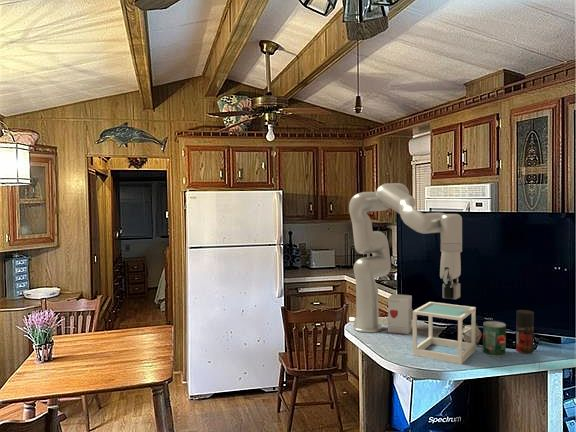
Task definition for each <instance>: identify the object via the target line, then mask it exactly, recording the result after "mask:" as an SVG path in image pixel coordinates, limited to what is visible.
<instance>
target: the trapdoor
mask: <svg viewBox="0 0 576 432" xmlns="http://www.w3.org/2000/svg"><path fill="white" fill-rule="evenodd" d="M466 311H467V309H460V308H454V307H447V306H441V305H434V304H431V305H430V306H428V307H426V308H424V309H423V310H421V312H428V313H436V314H443V315H451V316H458V317H459V316H461V315H462V314H463V313H465V312H466Z"/></svg>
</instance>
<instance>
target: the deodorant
mask: <svg viewBox="0 0 576 432" xmlns="http://www.w3.org/2000/svg"><path fill="white" fill-rule="evenodd" d="M515 313H516V314H515V315H516V317H515V318H516V319H515V321H516V323H515V324H516V325H515V326H516V327H515V336H516V337H515V339H516V341H515V351H516V352H517V353H519V354H525V355H531V354H534V341H535V340H534V339H535V338H534V337H535V331H534V330H535V312H534V311H532V310H529V309H518V310H516V312H515Z"/></svg>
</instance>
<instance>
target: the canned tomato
mask: <svg viewBox="0 0 576 432" xmlns="http://www.w3.org/2000/svg"><path fill="white" fill-rule="evenodd" d="M482 326H483V328H482V333H483V335H482V353H483V354H484V355H486V356H491V357H504V356H506V354H507V349H506V343H507V342H506V341H507V338H506V337H507V336H506V335H507V333H506V332H507V324H506V323H505V322H501V321H495V320H487V321H484V322H483V324H482Z"/></svg>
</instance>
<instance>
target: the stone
mask: <svg viewBox="0 0 576 432" xmlns="http://www.w3.org/2000/svg"><path fill="white" fill-rule="evenodd" d="M441 286H442V288H441V289H442V294H441V295H442V296H441V297H442V299H446V298H445V297H444V283H442V285H441ZM452 288H453V299H451V298H447V299H450V300H457V299H460V298H461V283H453V286H452Z"/></svg>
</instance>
